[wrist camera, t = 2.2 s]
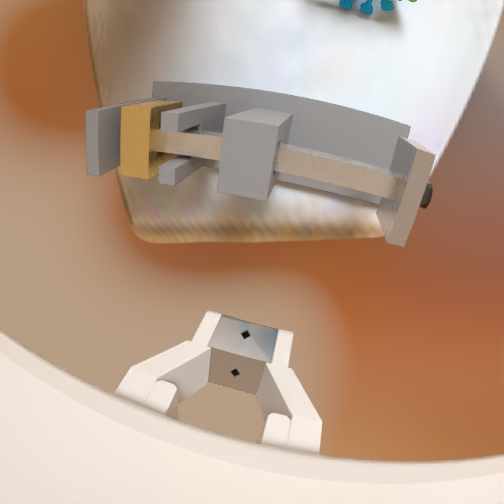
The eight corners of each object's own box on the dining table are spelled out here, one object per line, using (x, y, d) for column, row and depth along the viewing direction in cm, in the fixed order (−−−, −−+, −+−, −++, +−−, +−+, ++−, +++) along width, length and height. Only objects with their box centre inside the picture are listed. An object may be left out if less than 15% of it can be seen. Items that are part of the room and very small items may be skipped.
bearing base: (157, 81, 32) (82, 89, 21) (408, 125, 29) (457, 150, 17) (152, 156, 38) (84, 193, 26) (386, 204, 34) (414, 266, 23)
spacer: (156, 100, 28) (121, 106, 22) (182, 101, 27) (151, 107, 22) (153, 157, 31) (120, 175, 26) (178, 161, 31) (148, 179, 25)
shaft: (144, 93, 27) (109, 98, 22) (428, 146, 24) (452, 161, 19) (141, 165, 31) (109, 183, 26) (404, 221, 28) (420, 251, 23)
